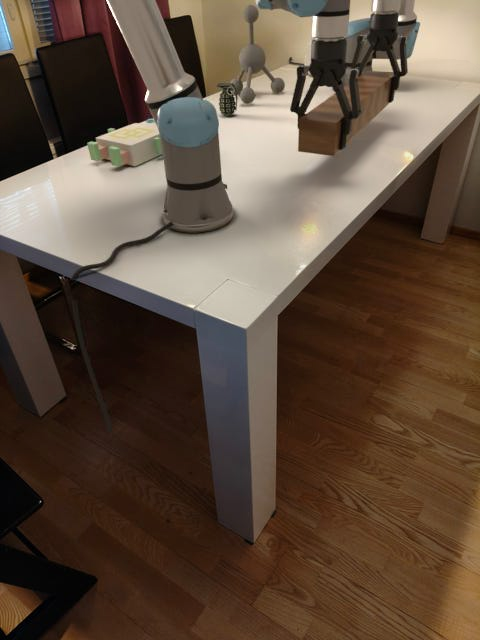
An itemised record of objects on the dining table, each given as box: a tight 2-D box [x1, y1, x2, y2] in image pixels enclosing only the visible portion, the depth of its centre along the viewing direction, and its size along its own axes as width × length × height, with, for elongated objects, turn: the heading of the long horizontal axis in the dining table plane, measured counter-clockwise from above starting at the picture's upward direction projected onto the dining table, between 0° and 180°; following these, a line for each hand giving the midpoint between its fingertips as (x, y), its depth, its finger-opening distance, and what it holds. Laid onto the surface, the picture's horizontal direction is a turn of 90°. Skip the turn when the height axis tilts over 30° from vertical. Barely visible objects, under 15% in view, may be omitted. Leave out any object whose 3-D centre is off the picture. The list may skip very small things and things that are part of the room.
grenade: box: [215, 82, 238, 117], centre depth 166 cm, size 7×6×10 cm
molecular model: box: [229, 4, 286, 105], centre depth 179 cm, size 24×22×30 cm
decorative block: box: [86, 118, 163, 168], centre depth 141 cm, size 26×6×20 cm
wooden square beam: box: [297, 70, 394, 157], centre depth 130 cm, size 53×9×8 cm, turn 152°
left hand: (322, 145), depth 117 cm, fingers closed on wooden square beam, 9 cm apart
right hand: (374, 100), depth 147 cm, fingers closed on wooden square beam, 9 cm apart
